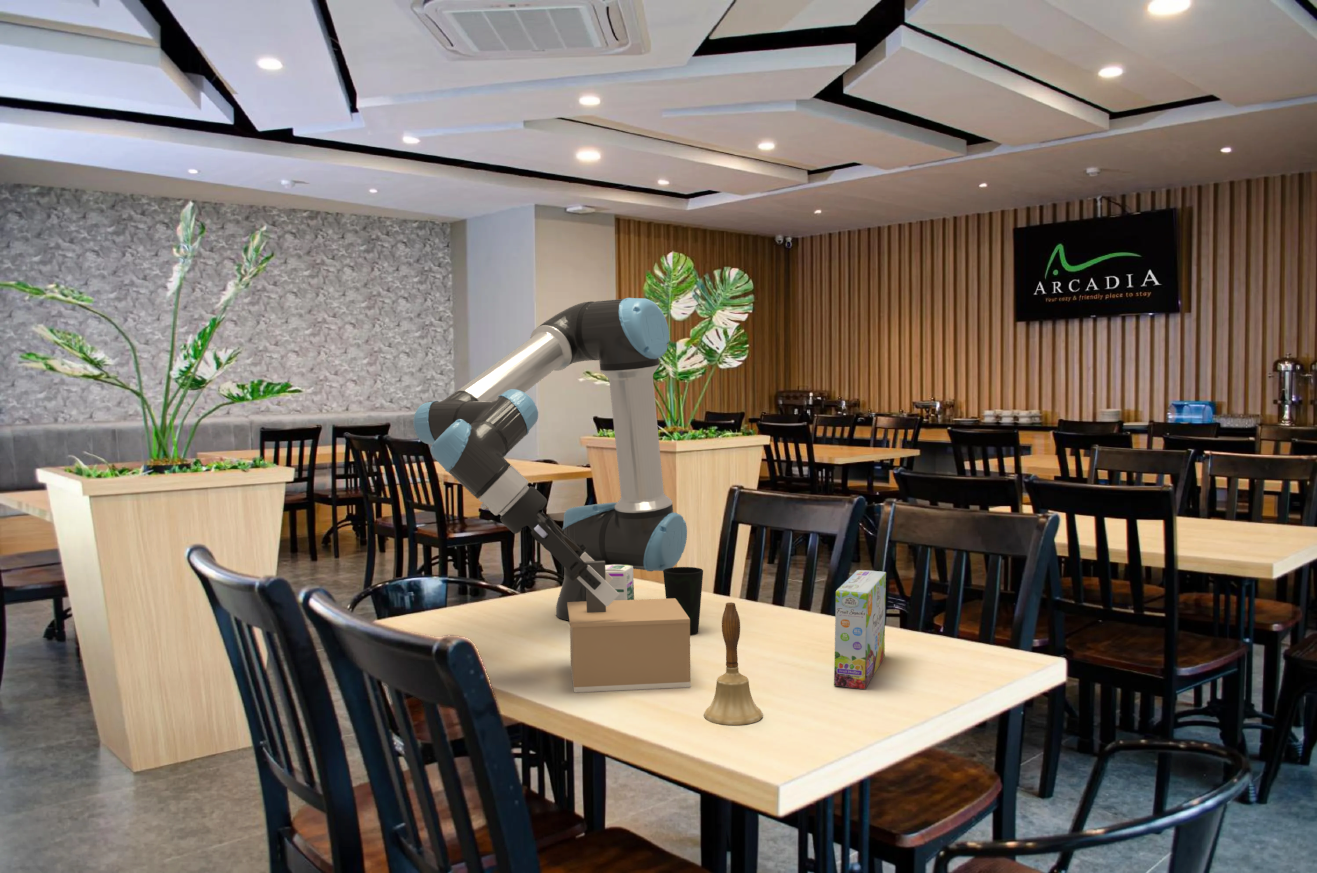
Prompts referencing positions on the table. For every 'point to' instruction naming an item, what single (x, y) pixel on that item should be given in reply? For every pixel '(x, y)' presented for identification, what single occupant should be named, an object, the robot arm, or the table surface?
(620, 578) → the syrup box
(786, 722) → the table surface
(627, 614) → the carton flap
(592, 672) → the carton
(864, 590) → the snack box
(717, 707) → the hand bell
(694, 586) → the cup
